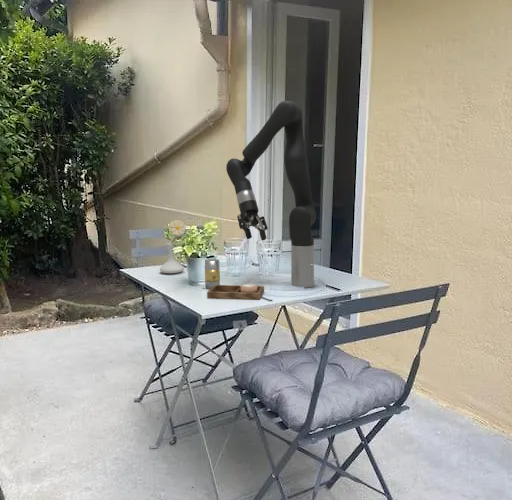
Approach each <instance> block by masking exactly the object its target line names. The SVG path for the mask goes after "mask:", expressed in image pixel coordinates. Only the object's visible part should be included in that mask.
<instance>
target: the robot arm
mask: <svg viewBox="0 0 512 500" xmlns="http://www.w3.org/2000/svg"><path fill="white" fill-rule="evenodd" d="M303 122H304V121H303V110H302V107H301V106H300V105H299V104H298V103H296V102H294V101H291V100H283V101H280V102H279V103H278V104H277V106H276V107H275V108H274V110H273V111H272V113H271V115H270V116H269V118H268V119H267V120H266V122H265V124H264V125H263V126H262V128H261V129H260V130H259V131H258V133H257V134H256V135H255V136H254V138H252V139H251V140H250V142H249V143H248V144H247V145H246V146H245V147H244V149H243V150H242V156H243V158H242V160H241V159H238V158H231V159H229V160H228V161H227V162H226V166H225V167H226V172H227V173H226V174H227V175H228V178H229V179H230V182H231V183H232V185H233V188H234V191H235V195H236V201H237V205H238V208H239V213H240V214H238V215H237V217H236V218H237V222H238V227H239V230H243V231H244V234H245V238H246V239H247V240H250V239H251V238H253V236H252V232H251V229H250V227H254V228H255V229H256V230H257V231H258V232H259V237H260V240H261V241H265V240H267V235H266V231H267V230H268V229H269V228H268V225H267V224H268V223H267V221H266V218H265V216H259V207H258V203H257V200H256V196H255V194H254V191H253V187H252V183H251V182H250V180H249V178H247V176H249V174H250V173H251V171H252V170H253V168H254V167H255V164H256V162H257V160H258V159H259V158H260V157H262V155H263V154H264V153H265V151H266V150H267V149H268V148H269V146H270V145H271V143H272V141H273V140H274V138H275V136H277V134H278V133H279V132H280V131H281V130H282V129H283V128H284V132H285V141H286V143H285V148H284V156H283V158H284V168H285V174H286V178H287V180H288V181H287V182H288V183H289V186H290V188H291V189H292V192H293V195H294V202H295V207H294V208H293V209H292V210H291V211H290V213H289V218H288V220H289V221H288V226H289V227H288V229H289V238H290V242H291V245H290V247H291V248H290V249H291V250H290V254H291V256H290V257H291V262H290V263H291V264H290V265H291V267H290V268H291V269H290V270H291V271H290V273H291V274H290V275H291V276H290V277H291V280H290V281H291V282H290V283H291V286H294V287H297V288H304V289H307V288H314V285H315V262H314V261H315V260H314V255H315V254H314V253H315V249H314V248H315V247H314V246H315V239H314V237H313V236H312V226H313V225H314V224H315V222H316V219H317V212H316V209H315V205H314V201H313V200H314V199H313V195H312V191H311V181H310V173H309V171H310V170H309V162H308V157H307V151H306V144H305V139H304V127H303V124H304V123H303Z"/></svg>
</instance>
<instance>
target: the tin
mask: <svg viewBox="0 0 512 500" xmlns="http://www.w3.org/2000/svg"><path fill="white" fill-rule="evenodd" d="M220 270H221V268H220V259H217V258H209V259H208V258H207V259H205V266H204V287H205V288H204V289H205V290H208V291H209V290H210V289H211V288H212V287H213V286H214V285H221V271H220Z"/></svg>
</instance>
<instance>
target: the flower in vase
mask: <svg viewBox="0 0 512 500" xmlns="http://www.w3.org/2000/svg"><path fill="white" fill-rule="evenodd" d="M186 229H187V225H185V223H184V222H183V220H180V219H179V220H178V219H175V220H173V221H171V222H170V224H169V225H168V230H169V232H170V234H172V235H174V236H175V237H174V239H175V240H177V241H178V240H179V239H181V238H182V237H183V236H182V235H184V234H185V232H186ZM165 238H166V239H167V240H169V241H171V242H166V243H165V245H166V247H167V251H168V259H167V261H165V263H163V264H162V265H161V266H160V268H159V271H160V272H161V273H162V274H179V273H181V272H183V271H185V268H184V266H183V265H182V264H181V263H179V262H178V261H177V260H176V259H175V254H174V255H173V253H172V249H173V243H174V242H173V241H172V240H173V239H172V240H171V238H169V237H167V236H165ZM172 242H173V243H172Z"/></svg>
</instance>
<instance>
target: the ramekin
mask: <svg viewBox="0 0 512 500" xmlns="http://www.w3.org/2000/svg"><path fill="white" fill-rule="evenodd" d="M240 286H241V292H242V293H257V286H258V284H256V283H251V282H250V283H241V284H240Z"/></svg>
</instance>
